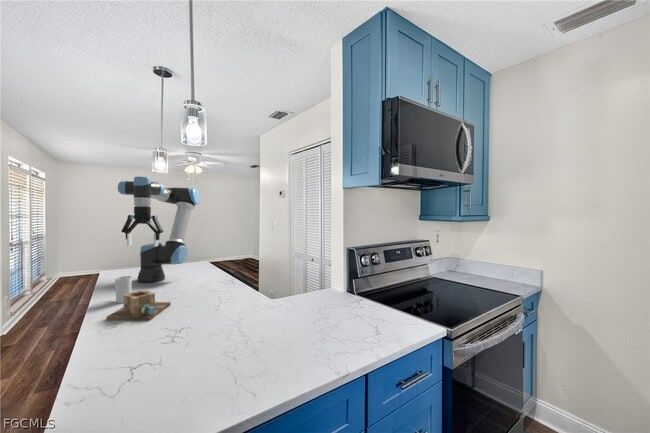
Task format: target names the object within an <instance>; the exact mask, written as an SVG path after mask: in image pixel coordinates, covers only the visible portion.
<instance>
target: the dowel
mask: <svg viewBox="0 0 650 433" xmlns="http://www.w3.org/2000/svg"><path fill="white" fill-rule="evenodd" d="M144 315H145V307H142V308H141V316H144Z"/></svg>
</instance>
